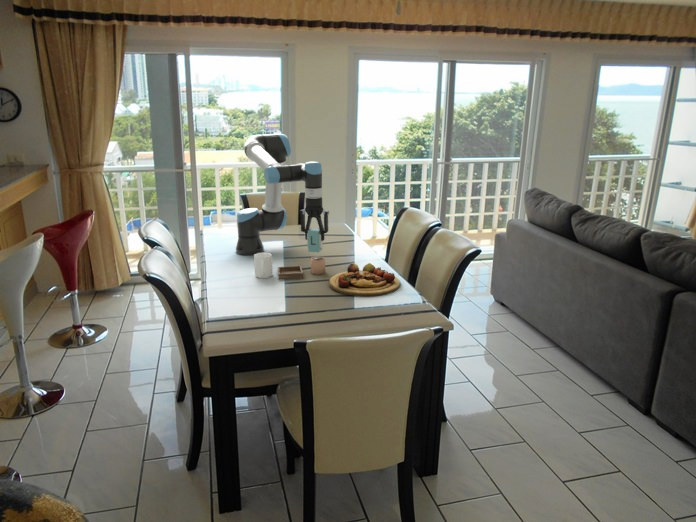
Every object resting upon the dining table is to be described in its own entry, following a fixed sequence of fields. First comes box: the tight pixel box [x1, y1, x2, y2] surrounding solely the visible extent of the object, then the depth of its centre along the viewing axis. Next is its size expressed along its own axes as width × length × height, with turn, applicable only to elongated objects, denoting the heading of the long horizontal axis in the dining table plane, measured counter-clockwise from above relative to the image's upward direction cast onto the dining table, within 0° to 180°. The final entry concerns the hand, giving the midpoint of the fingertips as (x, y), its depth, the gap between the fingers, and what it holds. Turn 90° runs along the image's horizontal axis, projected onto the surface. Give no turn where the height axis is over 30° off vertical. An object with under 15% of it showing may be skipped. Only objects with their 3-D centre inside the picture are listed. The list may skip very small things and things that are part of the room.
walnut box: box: [277, 265, 304, 280], centre depth 251 cm, size 11×11×2 cm
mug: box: [253, 252, 273, 279], centre depth 248 cm, size 12×8×10 cm
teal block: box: [307, 227, 323, 253], centre depth 242 cm, size 5×5×10 cm
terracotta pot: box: [310, 255, 326, 275], centre depth 254 cm, size 7×7×7 cm
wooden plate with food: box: [328, 262, 401, 298], centre depth 236 cm, size 32×32×8 cm
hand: (315, 246), depth 243 cm, fingers closed on teal block, 5 cm apart
